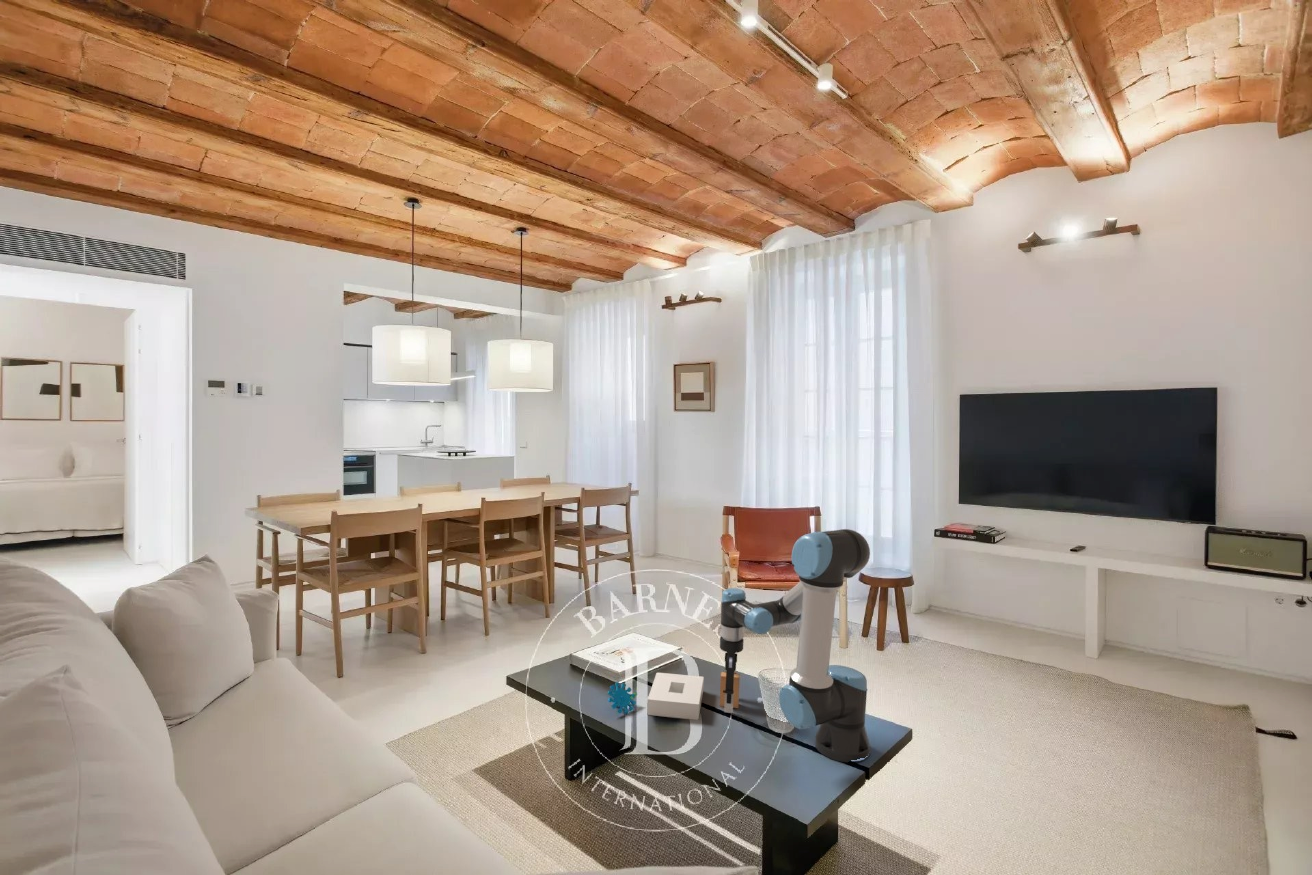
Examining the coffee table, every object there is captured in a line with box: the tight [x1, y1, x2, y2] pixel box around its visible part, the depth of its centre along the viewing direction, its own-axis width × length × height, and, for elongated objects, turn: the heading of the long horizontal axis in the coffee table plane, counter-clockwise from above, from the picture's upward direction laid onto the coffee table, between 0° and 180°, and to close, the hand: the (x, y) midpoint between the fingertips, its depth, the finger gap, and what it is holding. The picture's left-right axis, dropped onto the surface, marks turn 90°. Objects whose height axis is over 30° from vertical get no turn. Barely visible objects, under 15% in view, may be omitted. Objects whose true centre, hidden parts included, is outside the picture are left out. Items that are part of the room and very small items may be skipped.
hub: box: [646, 672, 705, 721], centre depth 216 cm, size 20×16×5 cm
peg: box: [719, 671, 741, 709], centre depth 215 cm, size 3×6×10 cm, turn 82°
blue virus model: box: [606, 681, 638, 715], centre depth 212 cm, size 11×6×10 cm
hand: (729, 703), depth 216 cm, fingers open, 10 cm apart
